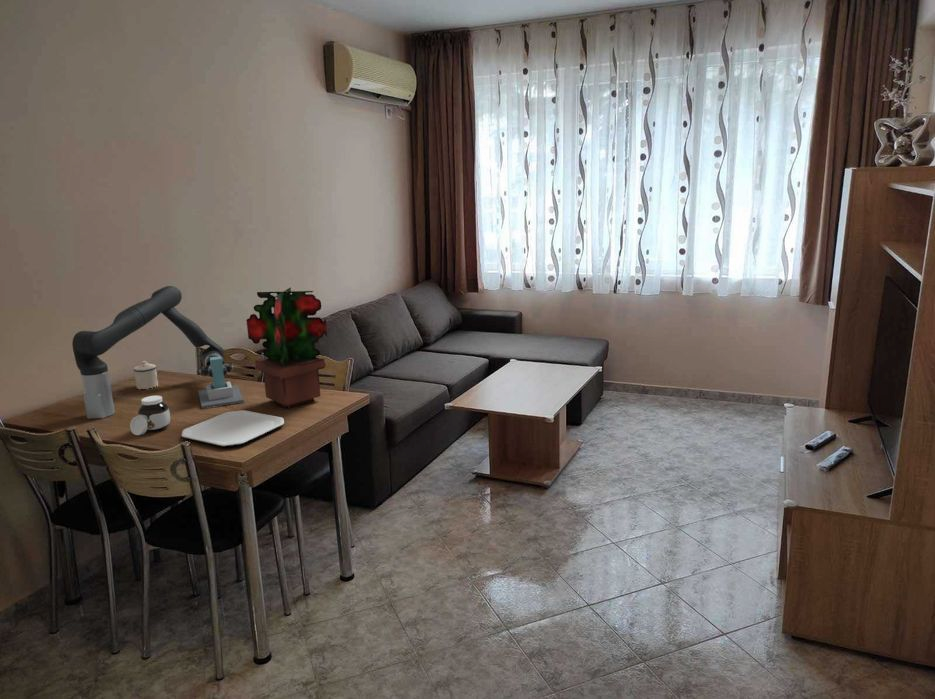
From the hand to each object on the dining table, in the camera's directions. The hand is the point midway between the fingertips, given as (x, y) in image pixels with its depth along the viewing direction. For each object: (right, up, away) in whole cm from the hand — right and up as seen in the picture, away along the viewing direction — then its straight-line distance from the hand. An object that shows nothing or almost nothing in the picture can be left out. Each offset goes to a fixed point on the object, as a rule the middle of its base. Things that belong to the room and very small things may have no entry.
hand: (218, 373), depth 272 cm
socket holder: (-1, -10, +5) cm, 11 cm away
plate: (+18, -20, -32) cm, 42 cm away
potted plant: (+31, -11, -1) cm, 33 cm away
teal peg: (-1, -7, +4) cm, 8 cm away
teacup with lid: (-41, -7, +23) cm, 47 cm away
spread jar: (-13, -20, -30) cm, 38 cm away
